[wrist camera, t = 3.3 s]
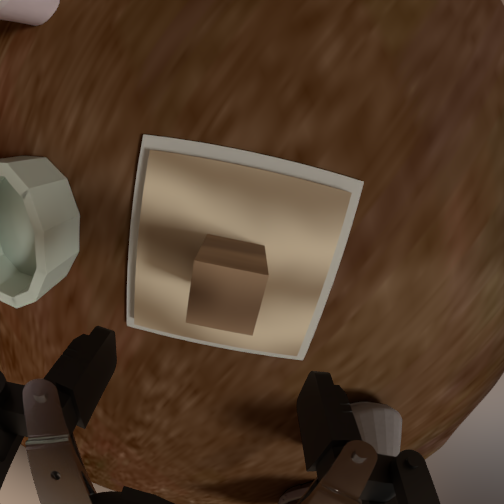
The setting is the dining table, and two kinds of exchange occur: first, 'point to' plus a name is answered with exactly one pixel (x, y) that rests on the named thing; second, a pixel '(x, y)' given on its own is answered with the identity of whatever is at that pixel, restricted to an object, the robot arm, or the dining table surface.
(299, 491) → the flowerpot
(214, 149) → the tray
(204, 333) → the lid
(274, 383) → the dining table surface
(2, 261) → the bowl
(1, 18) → the smoothie
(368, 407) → the coffee pot
